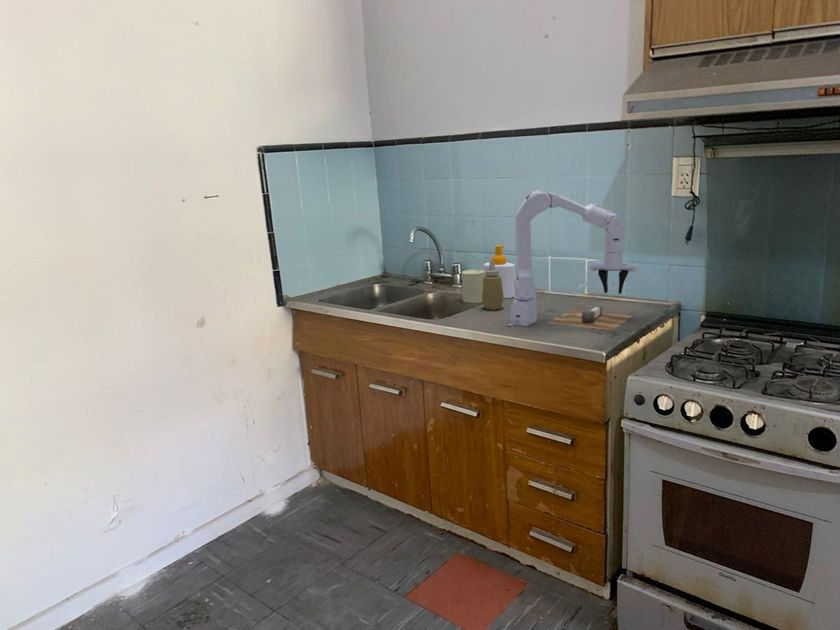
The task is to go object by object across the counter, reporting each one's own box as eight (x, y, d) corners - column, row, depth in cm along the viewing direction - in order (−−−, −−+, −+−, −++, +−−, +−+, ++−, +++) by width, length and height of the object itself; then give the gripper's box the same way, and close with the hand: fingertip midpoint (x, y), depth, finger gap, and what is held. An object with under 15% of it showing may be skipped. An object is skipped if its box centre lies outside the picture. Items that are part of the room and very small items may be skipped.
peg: (591, 323, 202) (592, 314, 201) (580, 321, 204) (580, 313, 203) (605, 314, 212) (605, 305, 211) (594, 313, 214) (594, 304, 213)
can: (490, 299, 249) (489, 269, 246) (476, 303, 242) (475, 273, 239) (472, 296, 255) (471, 267, 252) (457, 301, 248) (456, 271, 245)
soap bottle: (519, 295, 252) (518, 245, 247) (510, 299, 246) (509, 248, 241) (489, 293, 260) (488, 244, 255) (480, 297, 253) (478, 247, 248)
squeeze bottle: (508, 309, 231) (507, 260, 227) (488, 312, 228) (487, 263, 224) (497, 305, 238) (496, 258, 234) (478, 307, 236) (476, 260, 231)
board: (613, 333, 194) (613, 329, 193) (547, 325, 206) (547, 322, 206) (632, 318, 208) (632, 315, 208) (569, 312, 221) (569, 309, 221)
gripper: (638, 249, 203) (637, 291, 206) (593, 249, 209) (592, 289, 212) (636, 253, 197) (635, 295, 200) (589, 252, 203) (588, 293, 206)
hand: (613, 292), depth 206 cm, fingers open, 4 cm apart
